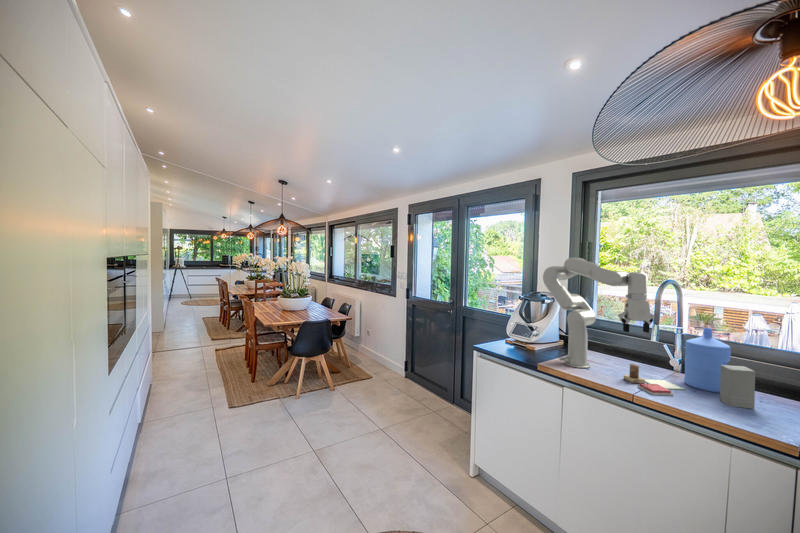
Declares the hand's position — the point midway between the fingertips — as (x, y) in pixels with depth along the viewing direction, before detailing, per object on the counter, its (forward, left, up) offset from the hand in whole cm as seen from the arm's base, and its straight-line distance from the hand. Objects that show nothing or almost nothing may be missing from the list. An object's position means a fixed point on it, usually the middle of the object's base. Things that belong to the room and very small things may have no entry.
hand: (636, 331), depth 156 cm
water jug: (+30, -4, -25) cm, 39 cm away
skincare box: (+24, -24, -25) cm, 42 cm away
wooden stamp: (-1, 0, -25) cm, 25 cm away
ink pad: (0, -12, -24) cm, 27 cm away
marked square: (+10, -3, -24) cm, 27 cm away
